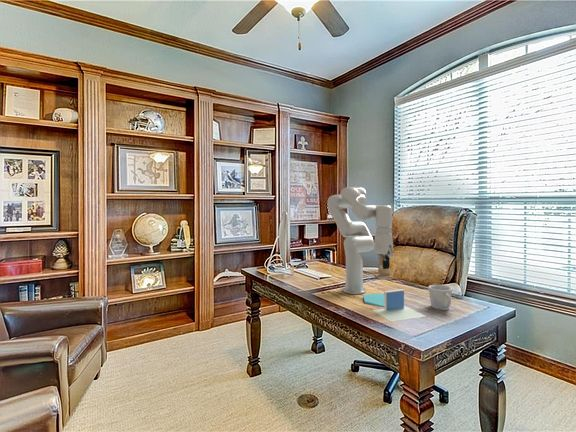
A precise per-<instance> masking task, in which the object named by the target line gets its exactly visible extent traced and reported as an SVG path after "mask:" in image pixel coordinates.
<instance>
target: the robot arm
mask: <svg viewBox="0 0 576 432" xmlns="http://www.w3.org/2000/svg"><path fill="white" fill-rule="evenodd" d="M326 202H327V209H328V212H329V214H330V215H331V217H332V219H333V220H334V222H335V224H336V227H337V229H338V230H339V233H340V235H341V236H342V237H343V238H344V240H343V248H344V255H345V282H344V284H345V287H343V289H342V290H343V292H344V293H346V294H349V295H361V294H365V293H366V292H367V289H366V288H365V287H364V262H363V258H362V256H361V254H360V253H369V252H371V251H373V252H374V253H376V255H377V256H378V255H383V257H384V261H383V269H389V261H390V262H391V258H393V257H394V256H393V254H394V239H393V235H392V234H393V217H392V216H393V211H392V210H393V208H392V206H391V205H388V204H387V205H386V204H384V205H383V204H382V205H381V204H367V192H366V189H365V188H364V187H362V186H346V187H344V188H343V189H342V190H341V192H340V194H334V195H330V196H329V197H328V198H327V201H326ZM343 209H351V211H352V214H353V215H354V216H355V217H356V218H358V219H359V220H351V219H350V217H349V215H348V213H347V212H346V211H345V210H343ZM370 220H371V221H374V220H375V234H374V238H373V236H372V234H371V233H370V230H369V228H368V226H367V225H366V223H364V222H363V221H370Z"/></svg>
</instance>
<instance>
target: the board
mask: <svg viewBox="0 0 576 432" xmlns="http://www.w3.org/2000/svg"><path fill="white" fill-rule="evenodd" d="M372 311H373V312H374V313H376V314H377V315H379V316H380V317H383V318H384V319H386V320H388V321H389V322H398V321H399V322H400V321H404V320H411V319H417V318H418V319H419V318H425V317H427V316H426V315H424V314H422V313H420V312H419V311H417V310H415V309H413V308H410V307H408V306H406V305H404V309H400V310H392V311H384V308H377V309H372Z"/></svg>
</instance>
